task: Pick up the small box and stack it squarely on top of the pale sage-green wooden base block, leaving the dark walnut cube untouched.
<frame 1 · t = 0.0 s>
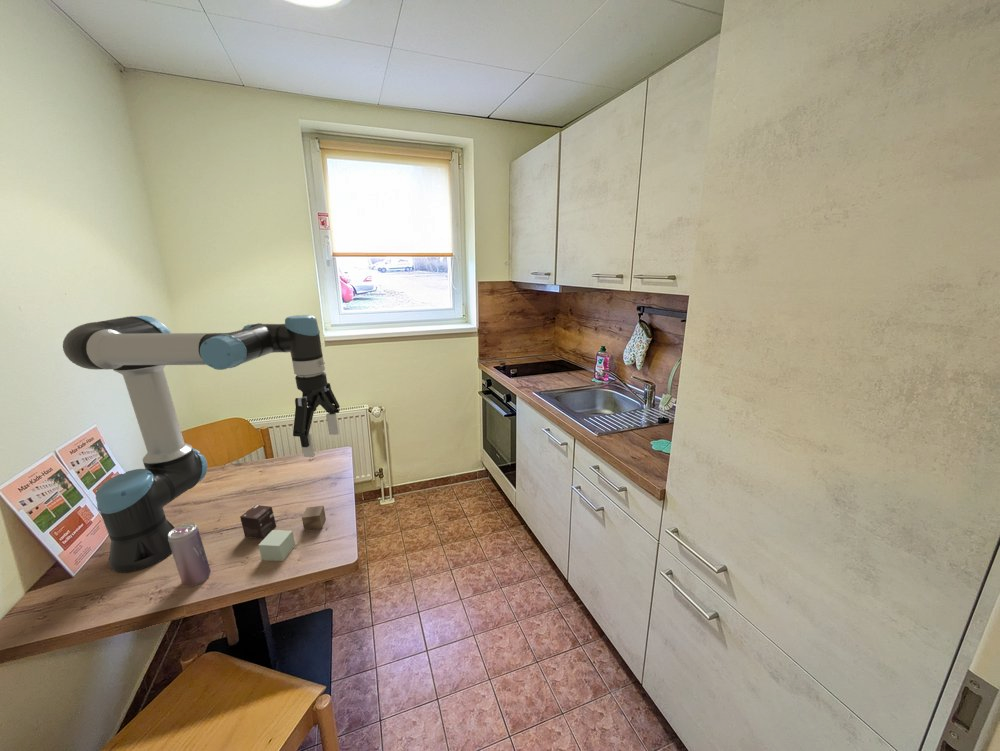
hand: (322, 444, 111), 28 cm above the table, fingers open, 13 cm apart
base block: (279, 552, 109), on the table
walnut cube: (315, 525, 120), on the table
beverage can: (197, 579, 101), on the table
box: (261, 532, 118), on the table
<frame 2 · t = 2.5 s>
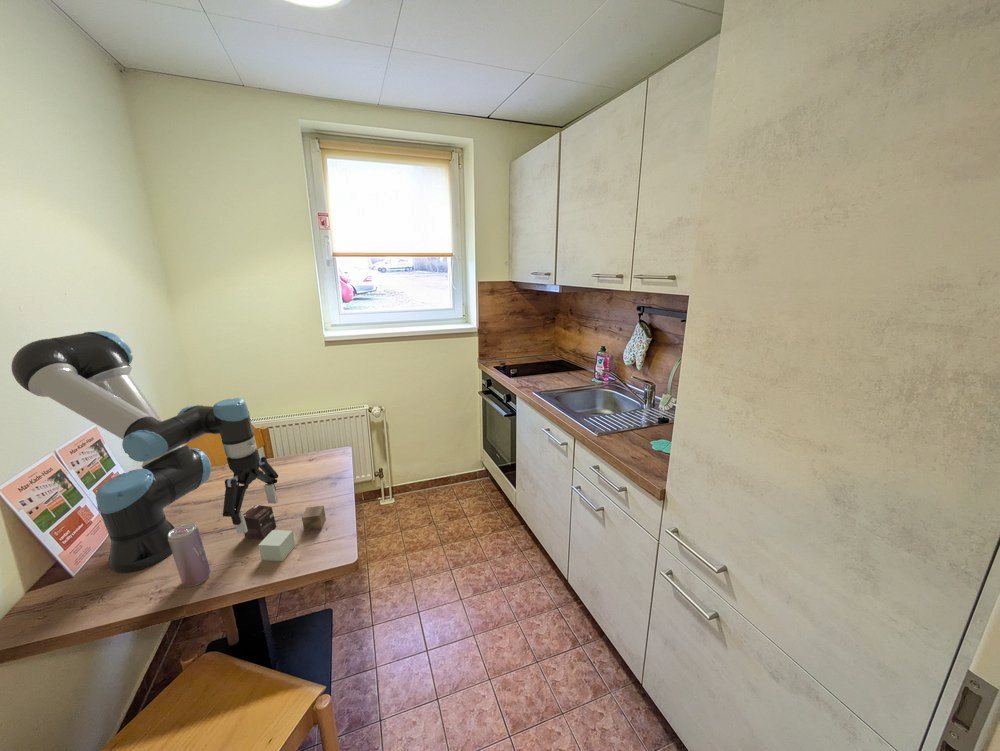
hand: (258, 516, 116), 6 cm above the table, fingers open, 13 cm apart
nothing on the table moved.
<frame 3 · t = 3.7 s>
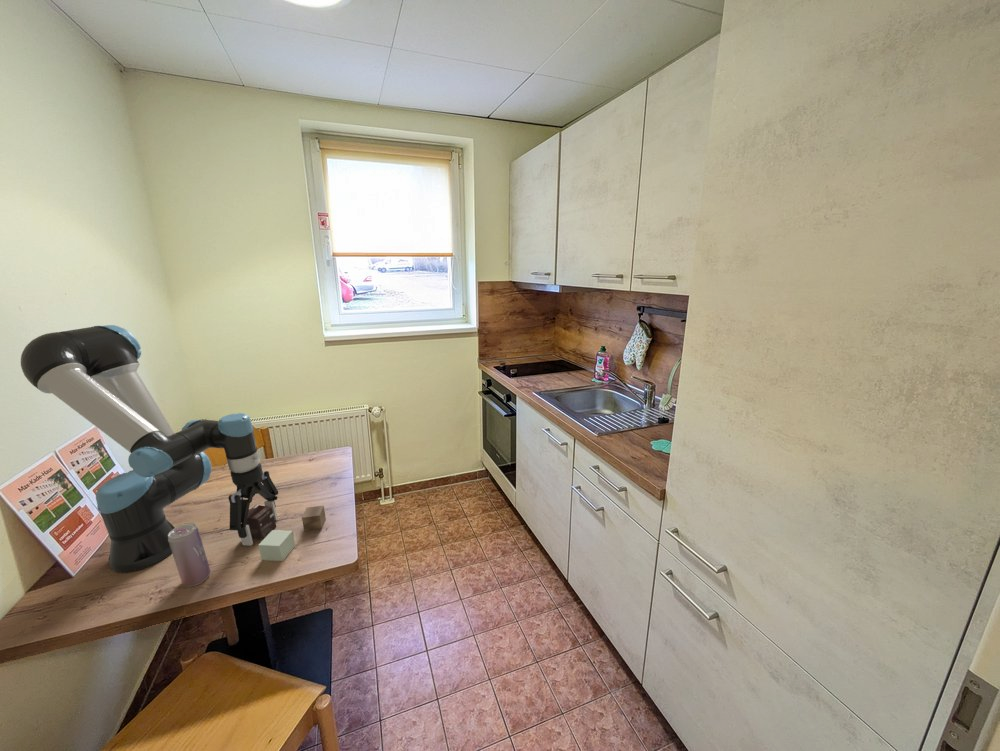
hand: (261, 531, 117), 0 cm above the table, fingers open, 11 cm apart
nothing on the table moved.
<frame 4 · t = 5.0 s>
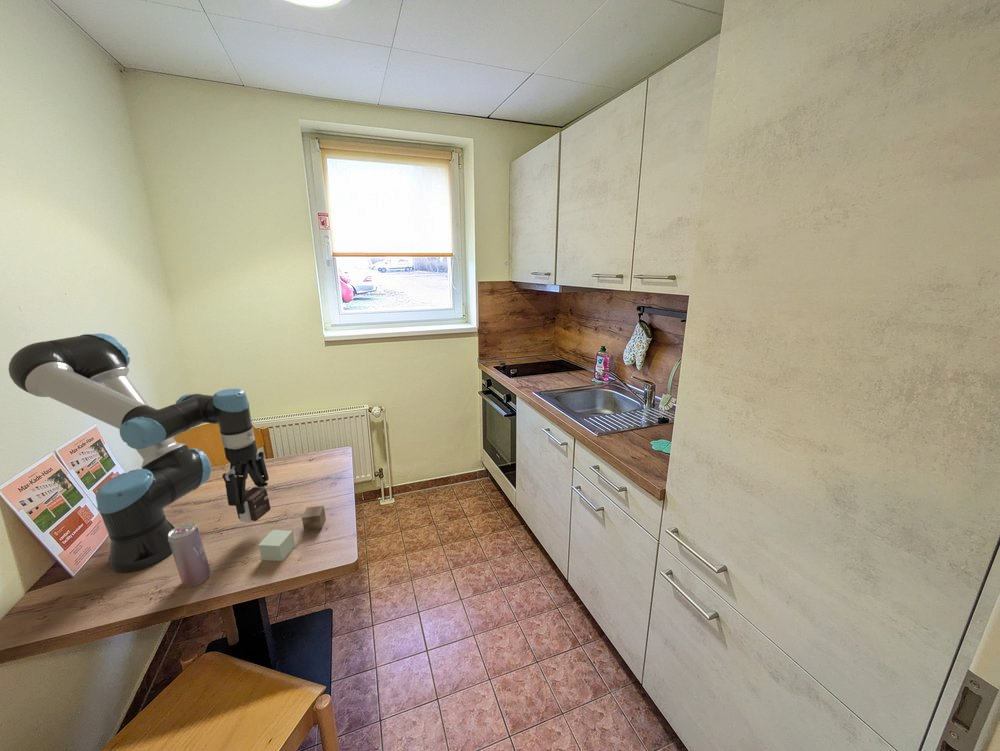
hand: (254, 513, 116), 7 cm above the table, fingers closed on box, 6 cm apart
box: (255, 514, 116), point 6 cm above the table, touching gripper
everything else where it was.
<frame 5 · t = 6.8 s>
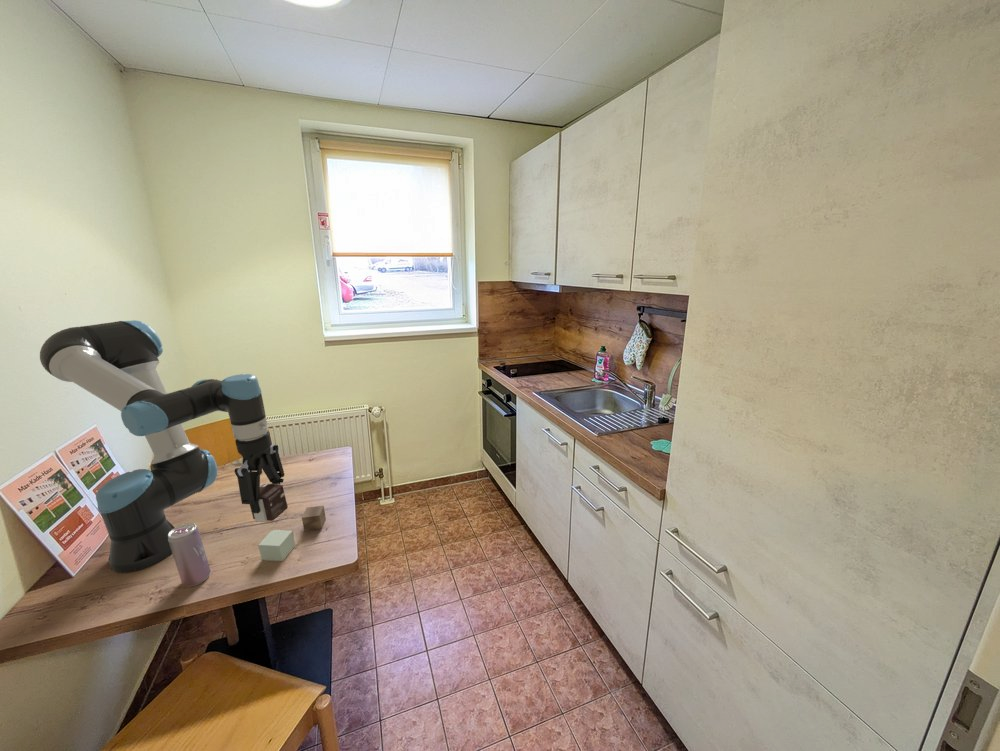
hand: (270, 512, 105), 13 cm above the table, fingers closed on box, 6 cm apart
box: (271, 514, 105), point 13 cm above the table, touching gripper
everything else where it was.
when the fingers open (6 cm above the table, at t = 8.8 s): box stays where it is, resting on base block.
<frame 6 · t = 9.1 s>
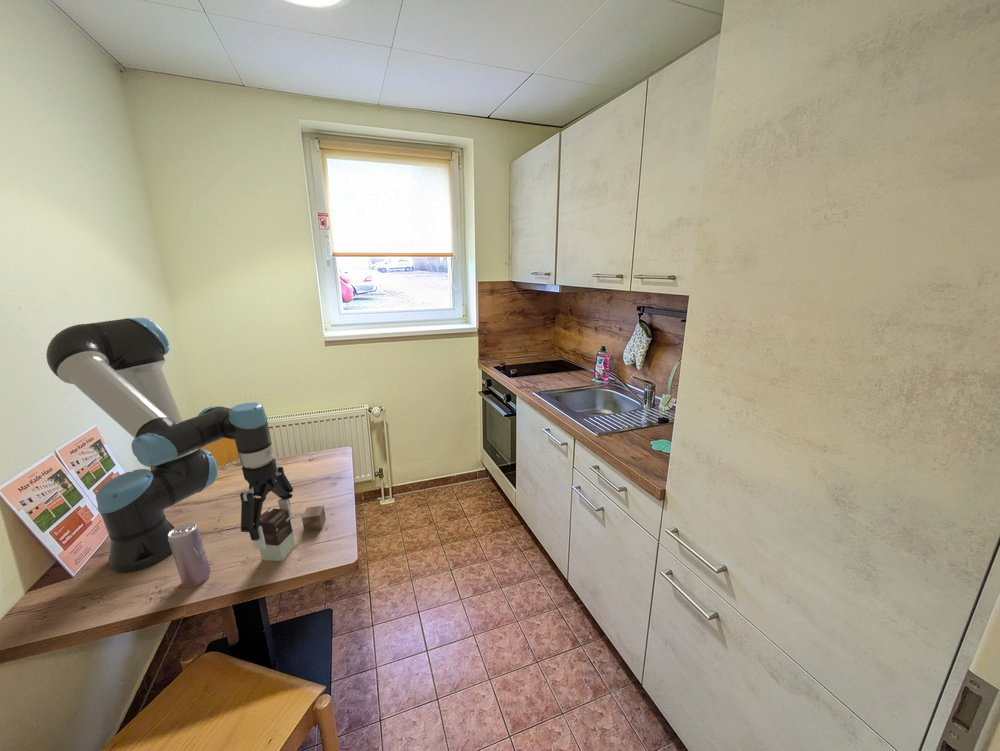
hand: (274, 532, 107), 7 cm above the table, fingers open, 11 cm apart
box: (276, 538, 108), point 5 cm above the table, touching base block
everything else where it was.
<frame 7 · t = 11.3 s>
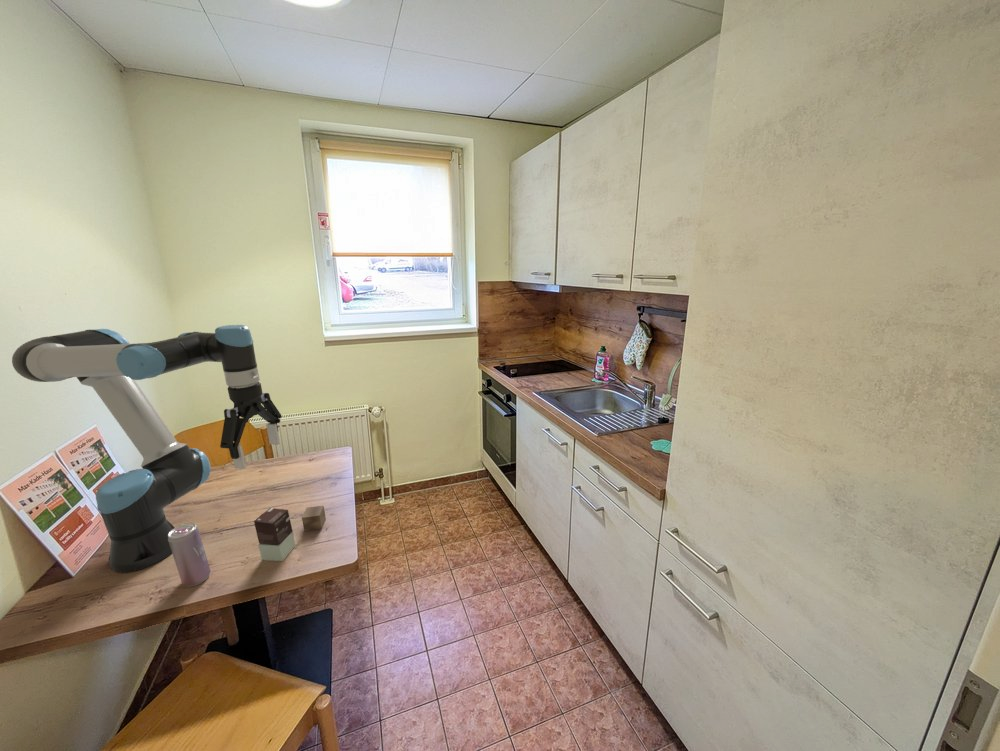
hand: (258, 455, 110), 26 cm above the table, fingers open, 13 cm apart
nothing on the table moved.
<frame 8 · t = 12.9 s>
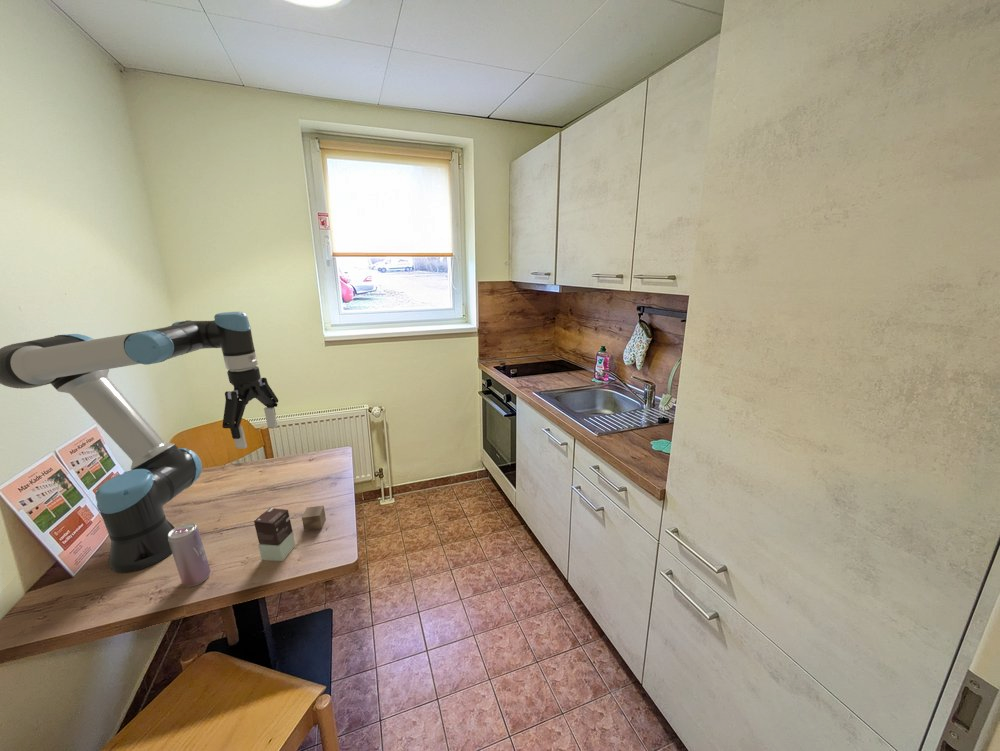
hand: (258, 437, 115), 29 cm above the table, fingers open, 13 cm apart
nothing on the table moved.
at the end: box 0.1 cm off-centre on the base block, point 4.8 cm above the base block's base; box tilted 0°; the gripper is holding nothing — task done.
